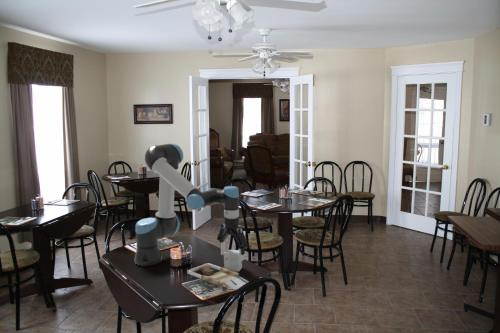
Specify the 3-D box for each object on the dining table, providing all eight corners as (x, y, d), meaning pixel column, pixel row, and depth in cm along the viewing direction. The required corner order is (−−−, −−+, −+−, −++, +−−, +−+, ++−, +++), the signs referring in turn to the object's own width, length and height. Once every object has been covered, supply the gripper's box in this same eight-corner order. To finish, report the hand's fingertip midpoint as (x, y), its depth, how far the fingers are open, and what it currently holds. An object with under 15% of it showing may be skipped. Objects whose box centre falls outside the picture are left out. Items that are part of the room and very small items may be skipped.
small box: (242, 269, 224) (241, 250, 222) (239, 273, 219) (238, 253, 217) (227, 268, 226) (226, 249, 225) (224, 272, 221) (223, 252, 219)
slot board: (201, 281, 211) (201, 275, 210) (222, 272, 221) (222, 267, 220) (217, 287, 202) (217, 282, 202) (238, 278, 212) (238, 273, 212)
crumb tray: (187, 275, 218) (186, 270, 218) (208, 267, 228) (207, 262, 228) (201, 281, 211) (201, 276, 210) (222, 272, 221) (222, 267, 220)
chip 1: (199, 271, 221) (199, 267, 221) (205, 269, 224) (205, 265, 224) (204, 273, 219) (204, 269, 218) (210, 271, 222) (210, 267, 221)
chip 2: (202, 274, 217) (202, 270, 217) (208, 272, 220) (208, 268, 220) (208, 276, 215) (207, 272, 214) (214, 274, 218) (213, 269, 217)
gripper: (209, 214, 224) (210, 253, 227) (244, 223, 207) (244, 265, 210) (220, 211, 229) (221, 249, 233) (254, 219, 212) (255, 261, 216)
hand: (232, 257), depth 221 cm, fingers open, 13 cm apart
